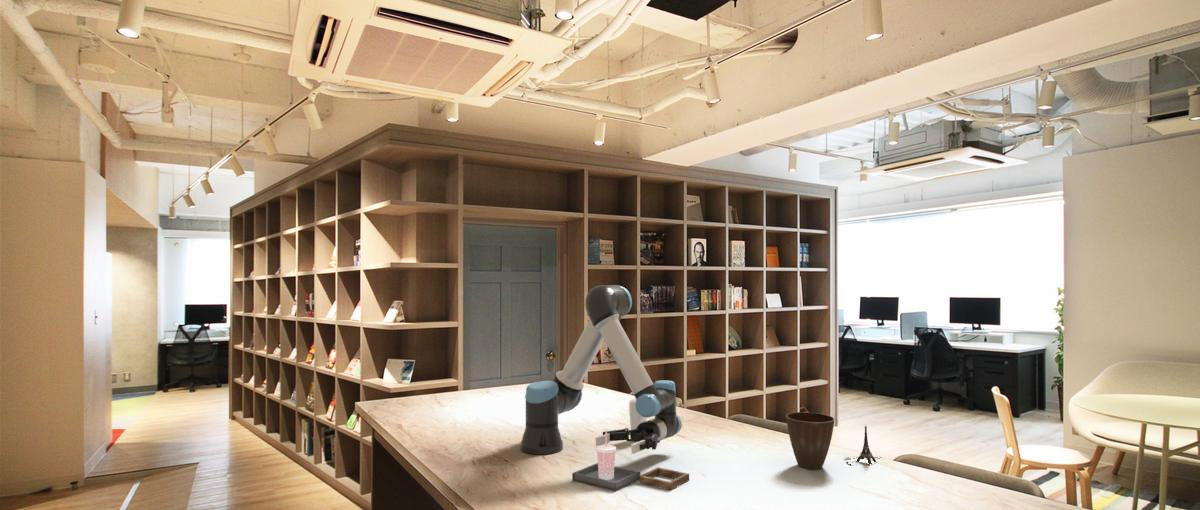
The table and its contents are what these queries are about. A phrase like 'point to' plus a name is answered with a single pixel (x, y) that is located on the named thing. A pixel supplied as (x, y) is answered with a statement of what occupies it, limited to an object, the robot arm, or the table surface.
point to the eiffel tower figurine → (865, 451)
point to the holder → (650, 480)
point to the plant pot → (810, 438)
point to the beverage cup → (606, 460)
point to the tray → (592, 478)
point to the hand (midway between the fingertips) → (614, 445)
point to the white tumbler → (635, 415)
